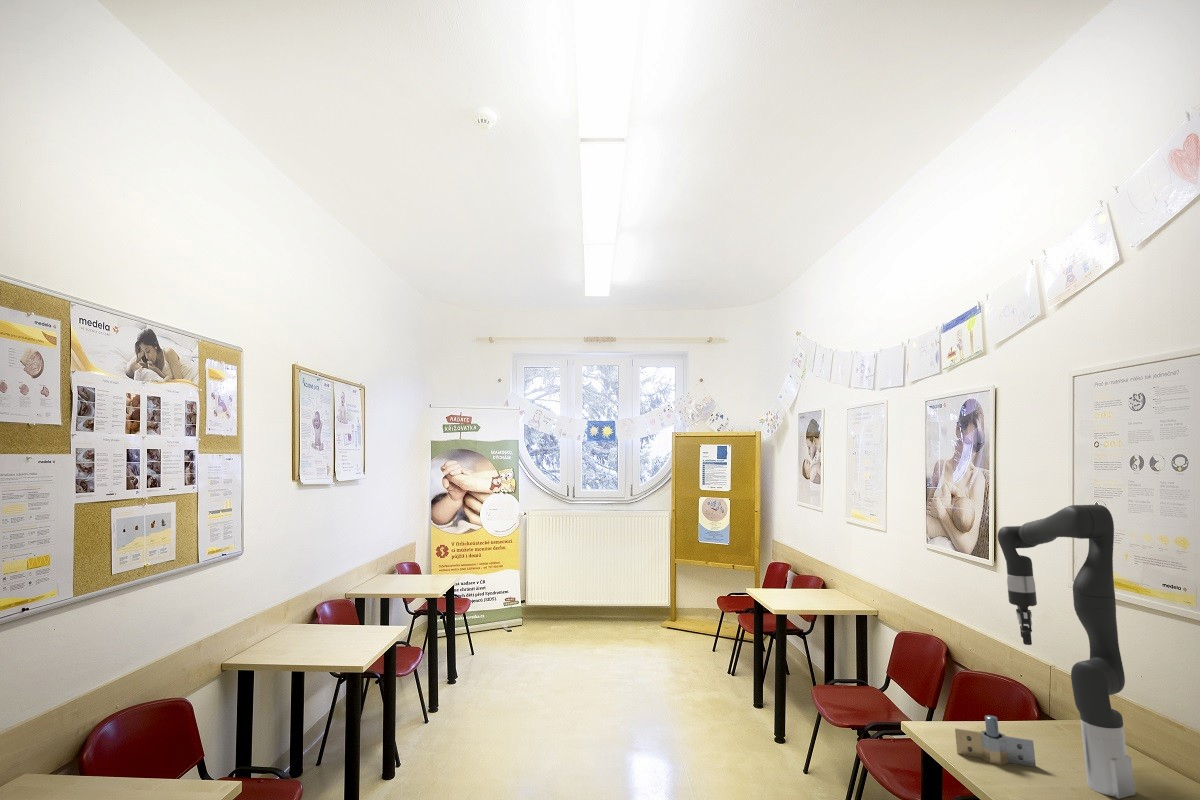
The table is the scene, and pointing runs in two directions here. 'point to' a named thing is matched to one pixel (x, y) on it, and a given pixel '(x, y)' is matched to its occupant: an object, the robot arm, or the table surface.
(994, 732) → the pin
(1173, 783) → the table surface
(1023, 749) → the hinge
